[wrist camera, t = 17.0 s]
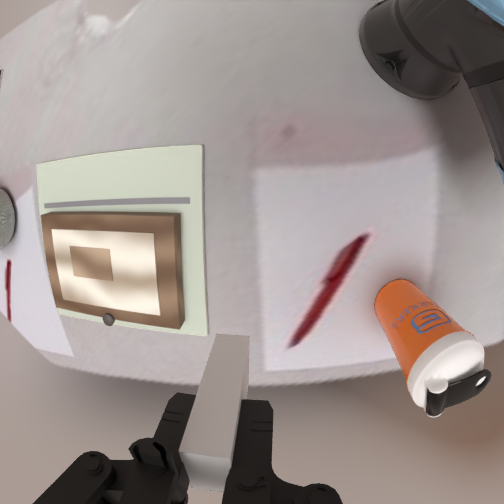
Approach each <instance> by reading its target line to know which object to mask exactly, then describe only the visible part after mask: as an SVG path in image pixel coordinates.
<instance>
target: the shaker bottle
mask: <svg viewBox="0 0 504 504" xmlns="http://www.w3.org/2000/svg"><path fill="white" fill-rule="evenodd" d="M375 312H376V315H377V317H378V319H379V321H380V323H381V325H382V327H383V329H384V331H385V334H386V336H387V338H388V340H389V342H390V344H391V346H392V349H393V351H394V353H395V355H396V357H397V360H398V362H399V364H400V366H401V369H402V371H403V373H404V376H405V378H406V380H407V388H408V391H409V392H410V393H411V396H412V398H413V400H414V402H415V403H416V404H417V405H418V406H420V407H423V408H424V409H425V412H426V414H427V415H428V416H430V417H437V416H439V415H441V414H442V413H443V411H444V408H447V407H450V406H453V405H456V404H459V403H461V402H463V401H466V400H468V399H470V398H472V397H474V396H476V395H477V394H479V393H480V392H481V391H482V390H483V389H484V388H485V387H486V385H487V384H488V382H489V380H490V378H491V372H490V371H489V370H487V369H484V370H482V369H483V364H484V349H483V347H482V345H481V343H480V342H479V341H478V340H477V339H476V338H475V337H474V335H473V334H471V333H470V332H468V331H465V330H464V329H463V328H462V327H461V326H460V325H459V324H458V323H457V322H456V321H454V320H453V319H452V318H451V317H450V316H449V315H448V314H447V313H446V312H445V311H443V310H442V309H441V308H440V307H439V306H438V305H437V304H436V303H434V302H433V301H432V300H431V299H430V298H429V297H428V296H427V295H425V294H424V293H423V292H422V291H421V290H420V289H418V288H417V287H416V286H415V285H414V284H412V283H411V282H410V281H408V280H403V279H398V280H394V281H392V282H389V283H388V284H387V285H385V286H384V287H383V288H382V289H381V290H380V292H379V293H378V295H377V297H376V300H375Z"/></svg>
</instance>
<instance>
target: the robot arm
mask: <svg viewBox="0 0 504 504" xmlns="http://www.w3.org/2000/svg"><path fill="white" fill-rule="evenodd" d="M360 41H361V46H362V49H363V51H364V54H365V56H366V58H367V60H368V61H369V63H370V64H371V66H372V67H373V69H374V70H375V71H376V72H377V73H378V74H379V76H380V77H381V78H382V79H384V80H385V81H386V82H387V83H388V84H389V85H391V86H392V87H394V88H395V89H397V90H398V91H400V92H402V93H404V94H406V95H409V96H411V97H415V98H419V99H433V98H437V97H440V96H443V95H445V94H447V93H449V92H451V91H452V90H453V89H454V88H455V87H456V86H457V84H458V83H459V81H460V79H461V78H462V77H463V76H464V78H465V80H466V82H467V85H468V87H469V89H470V91H471V94H472V96H473V98H474V100H475V102H476V105H477V107H478V109H479V112H480V114H481V117H482V119H483V122H484V125H485V127H486V130H487V133H488V136H489V139H490V142H491V145H492V148H493V151H494V156H495V163H496V165H497V167H498V169H499V171H500V173H501V176H502V180H503V183H504V0H384V1H381V2H379V3H377V4H375V5H374V6H373V7H372V8H371V9H370V10H369V11H368V12H367V14H366V15H365V17H364V18H363V20H362V23H361V26H360ZM248 382H249V336H240V335H225V334H216V337H215V340H214V343H213V346H212V349H211V352H210V356H209V359H208V362H207V365H206V368H205V371H204V374H203V377H202V380H201V383H200V386H199V389H198V392H197V395H191V394H184V393H176V394H175V395H174V396H173V397H172V398H171V399H170V400H169V401H168V404H167V406H166V408H165V412H164V413H163V416H162V418H161V420H160V423H159V425H158V428H157V430H156V432H155V435H154V437H153V438H144V439H139V440H137V441H136V442H134V443H133V444H132V445H131V446H130V447H129V450H130V453H131V454H132V456H133V458H134V459H133V460H110V459H109V458H108V457H107V456H105V455H104V454H103V453H100V452H98V451H89V452H86V453H83V454H82V455H81V456H79V457H78V458H77V459H76V460H75V461H74V462H73V463H72V464H71V465H70V467H68V469H66V471H65V472H64V473H63V474H62V475H61V476H60V477H59V478H58V479H57V480H56V481H55V482H54V483H53V484H52V485H51V486H50V487H49V488H48V489H47V490H46V491H45V492H44V493H43V494H42V495H41V496H40V497H39V498H38V499H37V500H36V501H35V502H34V503H33V504H187V503H188V494H187V489H188V486H189V483H190V486H191V488H197V489H204V490H210V491H217V492H224V494H223V499H222V504H343V503H342V501H341V499H340V496H339V494H338V493H337V492H336V490H335V489H333V488H332V487H330V486H328V485H325V484H320V483H318V484H310V485H308V486H305V487H302V486H298V485H294V484H290V483H287V482H285V481H283V480H281V479H280V478H278V477H277V476H276V474H275V473H274V471H273V469H272V464H271V461H272V433H273V409H272V407H271V405H270V403H269V401H263V400H247V399H246V397H247V390H248Z"/></svg>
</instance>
